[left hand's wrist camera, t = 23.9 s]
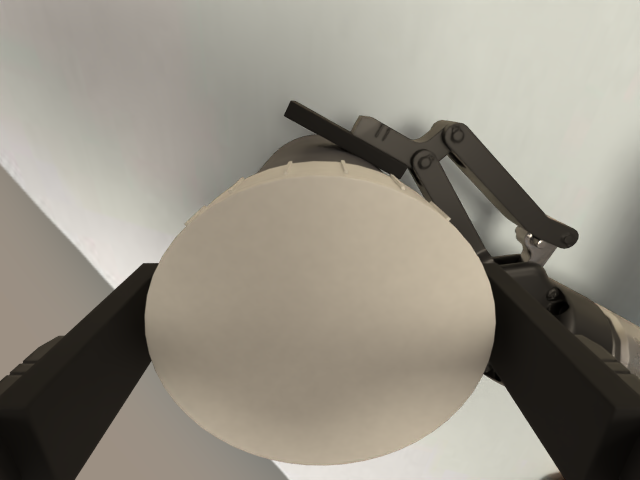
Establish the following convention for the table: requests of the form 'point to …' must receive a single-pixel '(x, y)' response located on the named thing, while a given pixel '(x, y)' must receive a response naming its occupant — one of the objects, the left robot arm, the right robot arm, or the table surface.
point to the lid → (320, 315)
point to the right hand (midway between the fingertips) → (249, 195)
